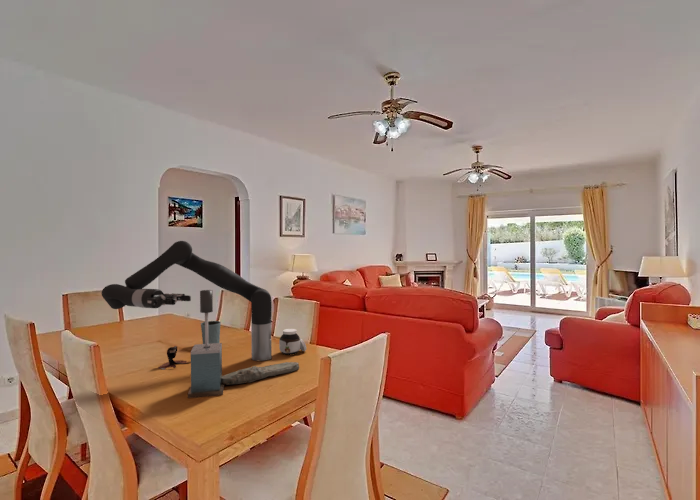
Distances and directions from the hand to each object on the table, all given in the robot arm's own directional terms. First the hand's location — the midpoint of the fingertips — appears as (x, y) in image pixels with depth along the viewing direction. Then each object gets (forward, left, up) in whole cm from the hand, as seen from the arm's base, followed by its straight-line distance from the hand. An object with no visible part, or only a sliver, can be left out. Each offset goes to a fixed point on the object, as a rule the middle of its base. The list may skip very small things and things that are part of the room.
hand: (182, 300), depth 148 cm
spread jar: (-46, -36, -34) cm, 68 cm away
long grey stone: (-30, -5, -34) cm, 46 cm away
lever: (-9, +5, -21) cm, 23 cm away
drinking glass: (-4, -61, -34) cm, 70 cm away
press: (-9, +5, -34) cm, 36 cm away
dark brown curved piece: (+8, -30, -34) cm, 46 cm away
